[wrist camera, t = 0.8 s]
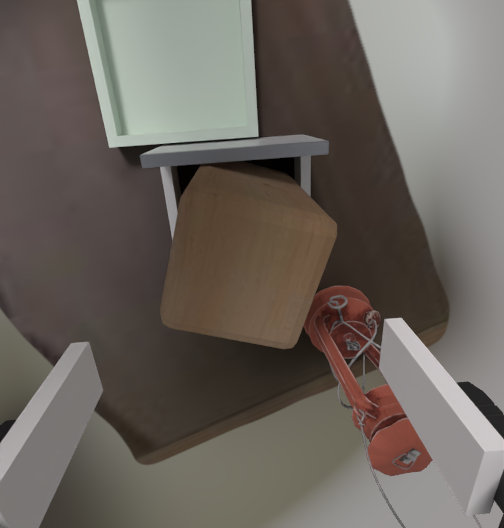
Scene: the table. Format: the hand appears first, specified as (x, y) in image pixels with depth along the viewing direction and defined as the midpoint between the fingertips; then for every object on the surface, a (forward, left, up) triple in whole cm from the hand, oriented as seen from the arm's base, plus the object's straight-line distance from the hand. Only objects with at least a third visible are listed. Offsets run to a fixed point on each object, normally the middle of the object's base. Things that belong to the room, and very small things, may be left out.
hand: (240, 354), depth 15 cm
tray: (-15, -5, -27) cm, 31 cm away
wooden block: (0, 0, -27) cm, 27 cm away
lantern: (+16, +12, -27) cm, 34 cm away
